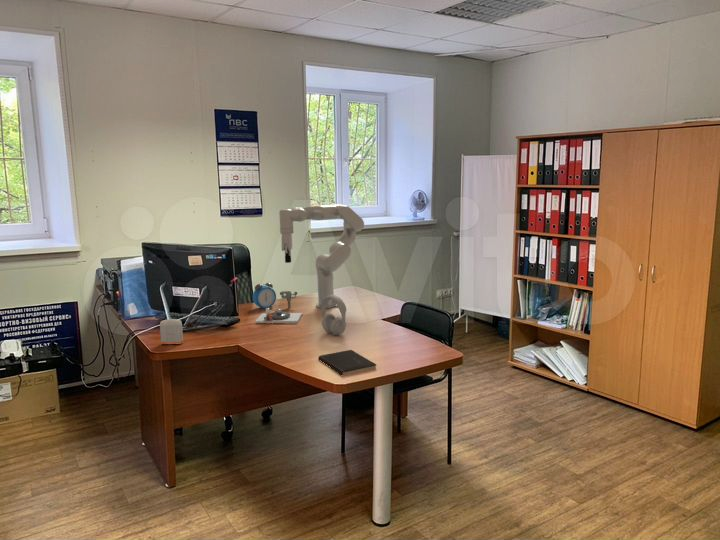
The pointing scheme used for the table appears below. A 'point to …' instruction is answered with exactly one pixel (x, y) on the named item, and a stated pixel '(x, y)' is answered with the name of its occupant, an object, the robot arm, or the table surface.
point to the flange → (276, 314)
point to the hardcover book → (347, 362)
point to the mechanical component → (288, 296)
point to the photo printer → (171, 330)
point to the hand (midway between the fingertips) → (288, 262)
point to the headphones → (329, 320)
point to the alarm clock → (264, 295)
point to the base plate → (292, 319)
